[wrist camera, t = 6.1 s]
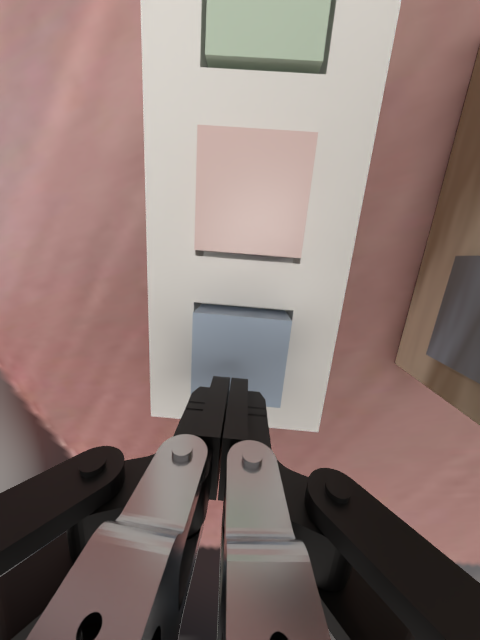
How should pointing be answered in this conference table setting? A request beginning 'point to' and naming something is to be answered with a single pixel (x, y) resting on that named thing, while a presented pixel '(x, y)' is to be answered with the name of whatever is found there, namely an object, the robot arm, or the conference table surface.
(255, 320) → the key slate
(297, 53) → the key sage
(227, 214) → the key rose
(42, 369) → the conference table surface
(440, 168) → the conference table surface
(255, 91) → the keypad
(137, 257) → the conference table surface
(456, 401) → the card
